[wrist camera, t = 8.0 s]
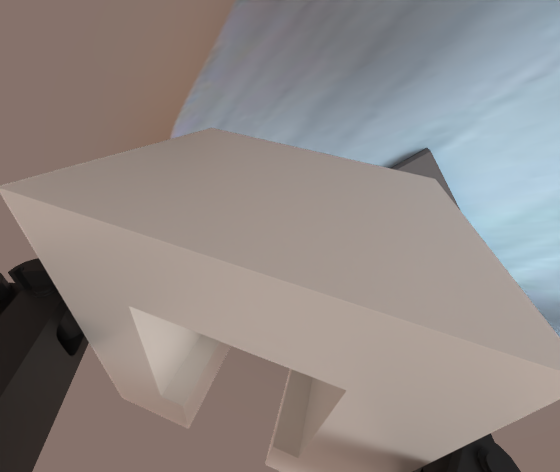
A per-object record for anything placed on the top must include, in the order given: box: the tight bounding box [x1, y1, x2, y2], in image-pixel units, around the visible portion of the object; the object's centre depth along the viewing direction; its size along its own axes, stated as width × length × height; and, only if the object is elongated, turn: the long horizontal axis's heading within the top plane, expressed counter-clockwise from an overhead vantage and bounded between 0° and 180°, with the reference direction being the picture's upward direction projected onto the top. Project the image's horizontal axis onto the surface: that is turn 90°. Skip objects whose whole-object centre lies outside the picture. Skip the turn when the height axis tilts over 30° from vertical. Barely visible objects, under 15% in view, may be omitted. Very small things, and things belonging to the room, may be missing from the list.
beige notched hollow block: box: [0, 128, 560, 472], centre depth 10 cm, size 10×10×8 cm
